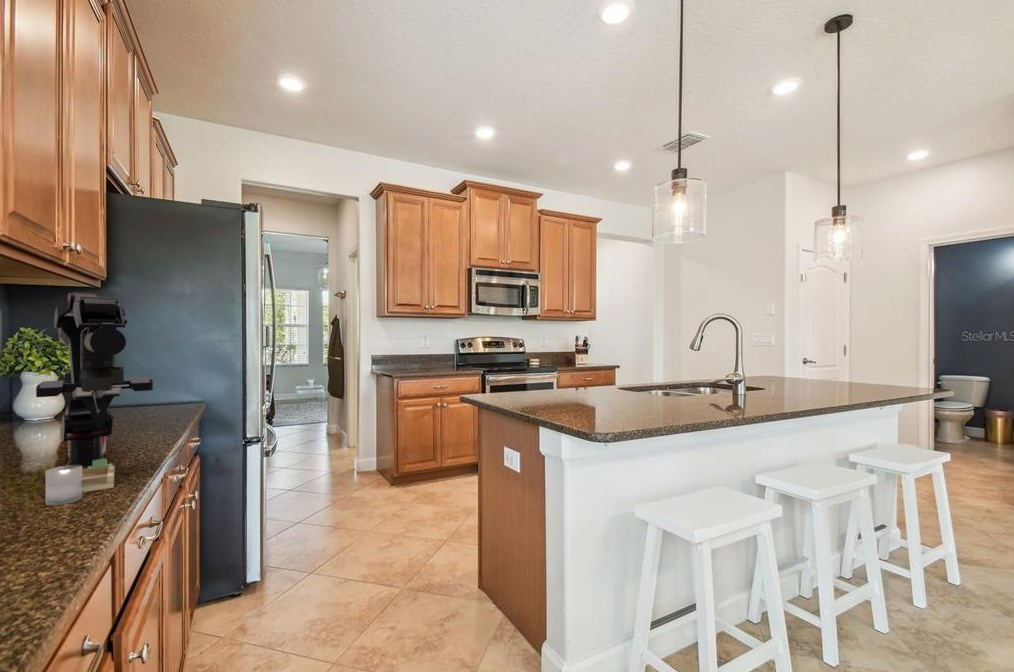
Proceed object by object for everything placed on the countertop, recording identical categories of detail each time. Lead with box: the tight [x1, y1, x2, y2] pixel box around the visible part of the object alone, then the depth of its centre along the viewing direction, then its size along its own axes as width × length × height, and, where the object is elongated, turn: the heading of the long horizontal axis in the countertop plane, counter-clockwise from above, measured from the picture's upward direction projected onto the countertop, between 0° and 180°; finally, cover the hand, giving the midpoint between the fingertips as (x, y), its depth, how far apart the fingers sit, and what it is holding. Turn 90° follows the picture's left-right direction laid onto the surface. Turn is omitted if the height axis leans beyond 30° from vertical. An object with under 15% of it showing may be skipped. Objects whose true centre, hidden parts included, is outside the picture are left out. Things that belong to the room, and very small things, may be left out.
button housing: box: [87, 463, 113, 469], centre depth 102 cm, size 4×4×2 cm
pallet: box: [82, 464, 115, 493], centre depth 95 cm, size 9×9×2 cm
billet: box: [45, 464, 83, 506], centre depth 87 cm, size 5×5×6 cm
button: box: [92, 458, 108, 468], centre depth 102 cm, size 2×2×3 cm
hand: (98, 425), depth 101 cm, fingers closed
